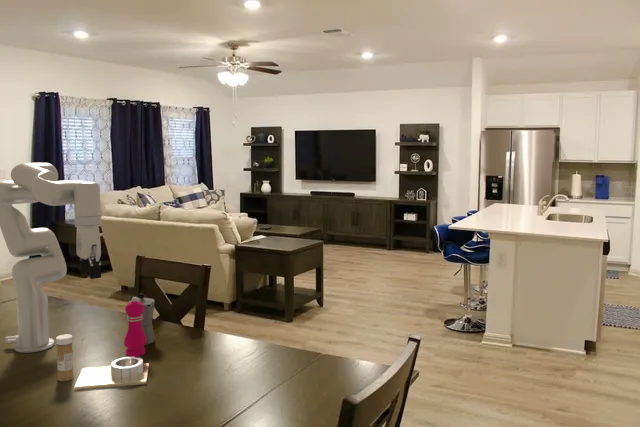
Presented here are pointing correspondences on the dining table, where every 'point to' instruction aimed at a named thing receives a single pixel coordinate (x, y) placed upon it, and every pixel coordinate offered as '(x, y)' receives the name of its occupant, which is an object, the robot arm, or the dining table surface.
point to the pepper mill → (135, 329)
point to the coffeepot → (147, 317)
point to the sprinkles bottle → (64, 357)
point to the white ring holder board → (114, 374)
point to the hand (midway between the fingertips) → (90, 275)
